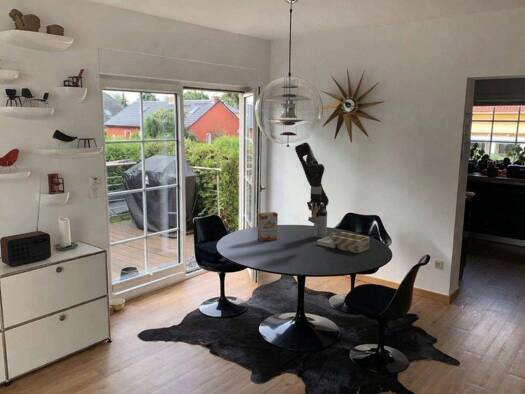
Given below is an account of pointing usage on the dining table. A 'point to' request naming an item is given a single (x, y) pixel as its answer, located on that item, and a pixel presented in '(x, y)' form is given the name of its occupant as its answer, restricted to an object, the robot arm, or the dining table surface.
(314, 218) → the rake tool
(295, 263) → the dining table surface
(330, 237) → the chip
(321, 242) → the chip tray
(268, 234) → the cracker box
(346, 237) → the channel block
